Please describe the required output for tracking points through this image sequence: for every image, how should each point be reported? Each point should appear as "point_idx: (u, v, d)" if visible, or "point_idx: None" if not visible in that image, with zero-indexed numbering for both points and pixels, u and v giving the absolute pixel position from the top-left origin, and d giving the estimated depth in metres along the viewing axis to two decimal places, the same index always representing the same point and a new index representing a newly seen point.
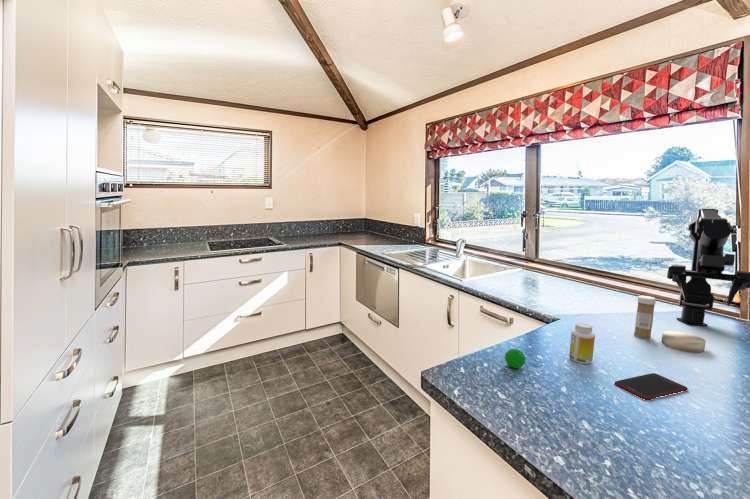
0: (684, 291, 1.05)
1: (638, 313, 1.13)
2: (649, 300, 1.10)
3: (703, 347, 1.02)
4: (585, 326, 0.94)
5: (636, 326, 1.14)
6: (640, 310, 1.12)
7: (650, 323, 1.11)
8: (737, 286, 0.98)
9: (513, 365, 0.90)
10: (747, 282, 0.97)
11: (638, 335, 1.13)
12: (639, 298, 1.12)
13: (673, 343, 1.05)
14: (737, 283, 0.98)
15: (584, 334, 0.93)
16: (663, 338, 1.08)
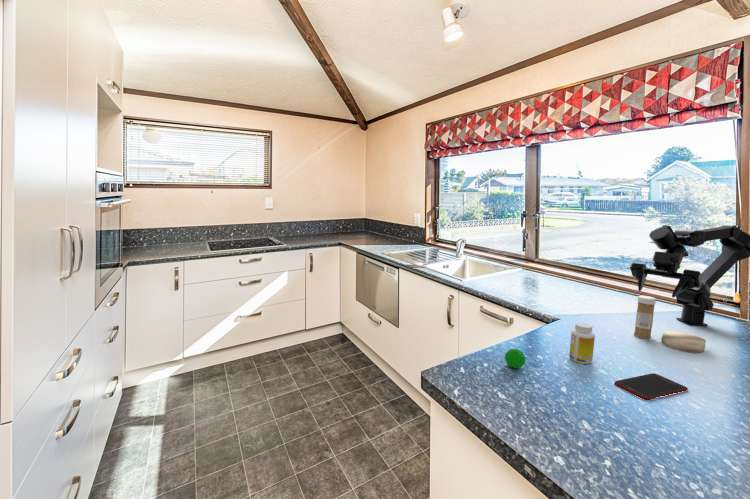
0: (639, 283, 1.21)
1: (638, 313, 1.13)
2: (649, 300, 1.10)
3: (703, 347, 1.02)
4: (585, 326, 0.94)
5: (636, 326, 1.14)
6: (640, 310, 1.12)
7: (650, 323, 1.11)
8: (682, 281, 1.12)
9: (513, 365, 0.90)
10: (691, 278, 1.11)
11: (638, 335, 1.13)
12: (639, 298, 1.12)
13: (673, 343, 1.05)
14: (682, 278, 1.12)
15: (584, 334, 0.93)
16: (663, 338, 1.08)
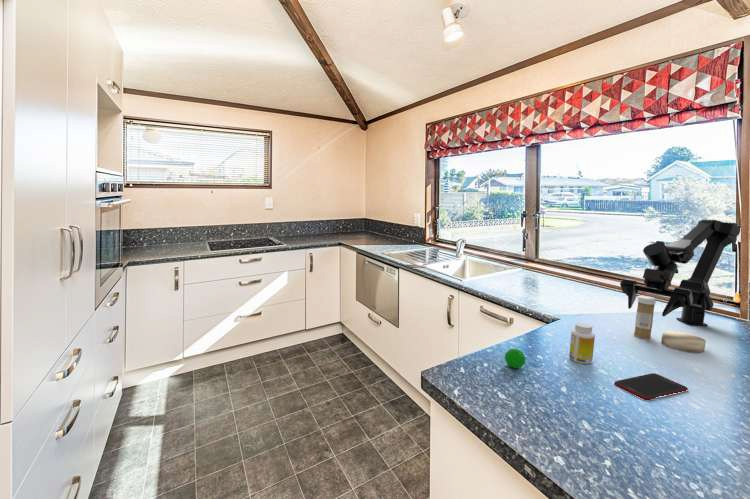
0: (629, 301, 1.17)
1: (638, 313, 1.13)
2: (649, 300, 1.10)
3: (703, 347, 1.02)
4: (585, 326, 0.94)
5: (636, 326, 1.14)
6: (640, 310, 1.12)
7: (650, 323, 1.11)
8: (673, 300, 1.09)
9: (513, 365, 0.90)
10: (681, 296, 1.08)
11: (638, 335, 1.13)
12: (639, 298, 1.12)
13: (673, 343, 1.05)
14: (673, 297, 1.09)
15: (584, 334, 0.93)
16: (663, 338, 1.08)
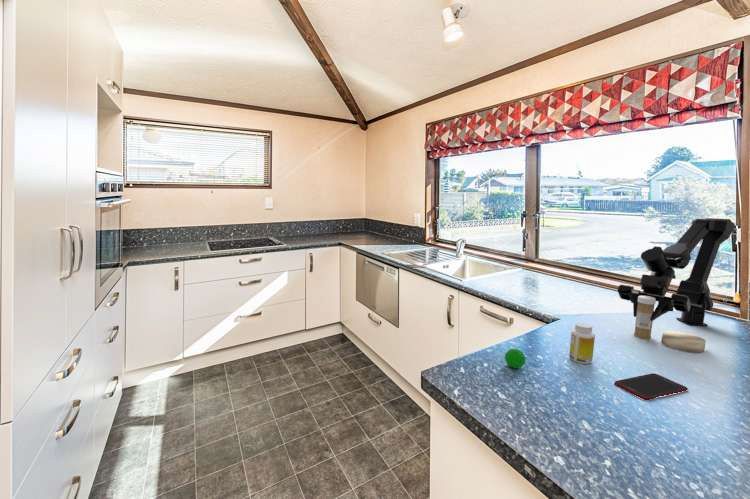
0: (634, 309, 1.15)
1: (638, 313, 1.13)
2: (649, 300, 1.10)
3: (703, 347, 1.02)
4: (585, 326, 0.94)
5: (636, 326, 1.14)
6: (640, 310, 1.12)
7: (650, 323, 1.11)
8: (661, 304, 1.10)
9: (513, 365, 0.90)
10: (669, 301, 1.08)
11: (638, 335, 1.13)
12: (639, 298, 1.12)
13: (673, 343, 1.05)
14: (661, 301, 1.10)
15: (584, 334, 0.93)
16: (663, 338, 1.08)
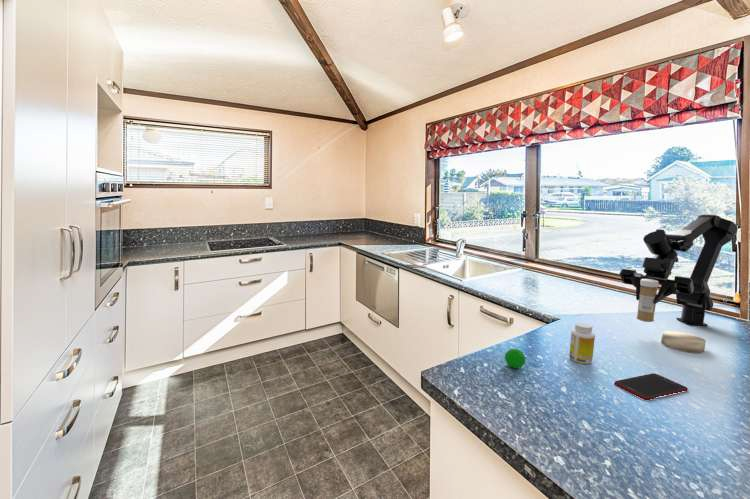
0: (637, 292, 1.14)
1: (641, 296, 1.12)
2: (652, 283, 1.09)
3: (703, 347, 1.02)
4: (585, 326, 0.94)
5: (639, 309, 1.13)
6: (642, 293, 1.11)
7: (653, 306, 1.10)
8: (664, 287, 1.09)
9: (513, 365, 0.90)
10: (672, 283, 1.08)
11: (641, 318, 1.12)
12: (642, 281, 1.11)
13: (673, 343, 1.05)
14: (664, 284, 1.09)
15: (584, 334, 0.93)
16: (663, 338, 1.08)
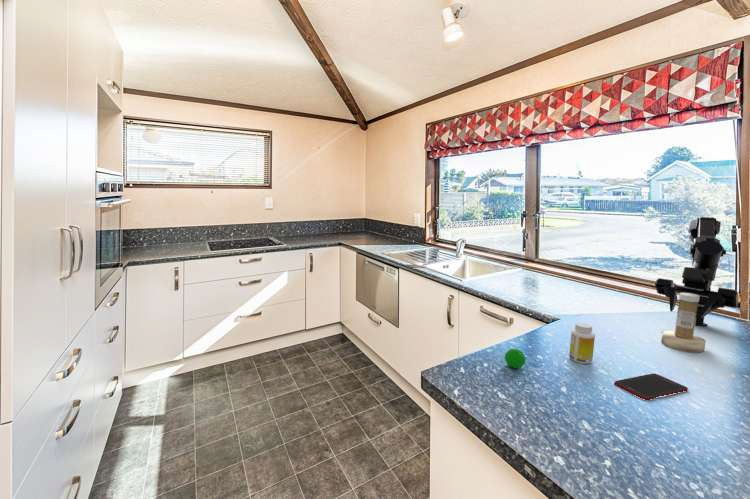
0: (670, 303, 1.08)
1: (680, 311, 1.05)
2: (692, 297, 1.03)
3: (703, 347, 1.02)
4: (585, 326, 0.94)
5: (677, 325, 1.06)
6: (681, 308, 1.05)
7: (693, 322, 1.04)
8: (712, 300, 1.01)
9: (513, 364, 0.90)
10: (721, 296, 1.00)
11: (679, 335, 1.06)
12: (681, 295, 1.05)
13: (673, 343, 1.05)
14: (712, 297, 1.01)
15: (584, 334, 0.93)
16: (663, 338, 1.08)
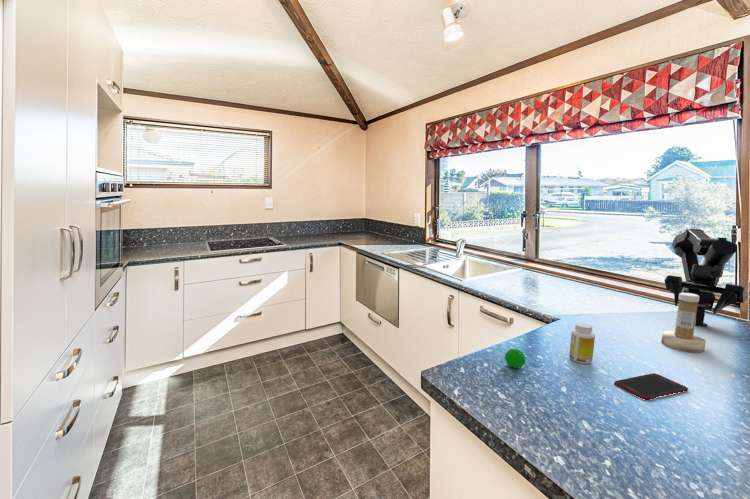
0: (675, 298, 1.14)
1: (679, 311, 1.05)
2: (692, 297, 1.03)
3: (703, 347, 1.02)
4: (585, 326, 0.94)
5: (677, 325, 1.06)
6: (681, 308, 1.05)
7: (693, 322, 1.04)
8: (725, 296, 1.05)
9: (513, 365, 0.90)
10: (734, 293, 1.04)
11: (679, 335, 1.06)
12: (681, 295, 1.05)
13: (673, 343, 1.05)
14: (724, 293, 1.05)
15: (584, 334, 0.93)
16: (663, 338, 1.08)
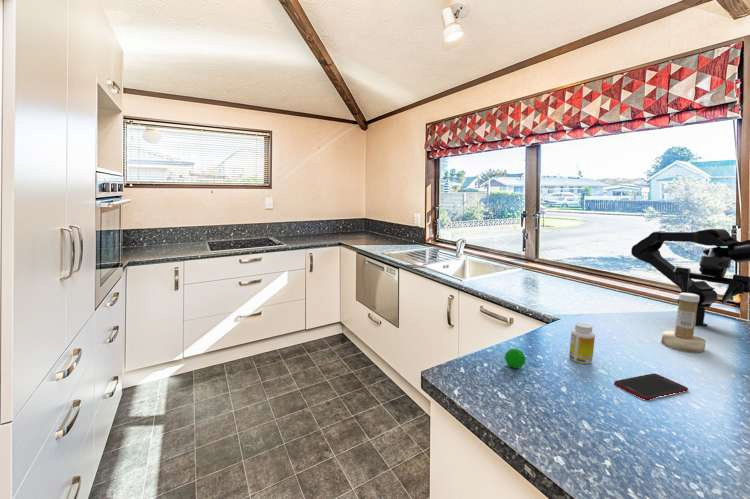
0: (684, 289, 1.18)
1: (679, 311, 1.05)
2: (692, 297, 1.03)
3: (703, 347, 1.02)
4: (585, 326, 0.94)
5: (677, 325, 1.06)
6: (681, 308, 1.05)
7: (693, 322, 1.04)
8: (732, 286, 1.10)
9: (513, 364, 0.90)
10: (741, 283, 1.08)
11: (679, 335, 1.06)
12: (681, 295, 1.05)
13: (673, 343, 1.05)
14: (732, 284, 1.10)
15: (584, 334, 0.93)
16: (663, 338, 1.08)
